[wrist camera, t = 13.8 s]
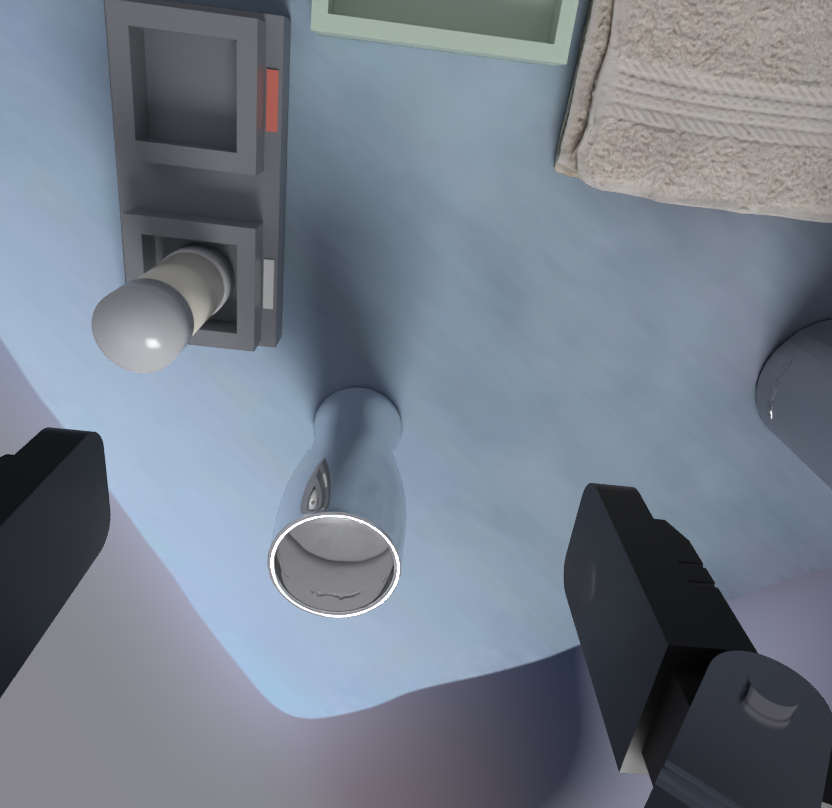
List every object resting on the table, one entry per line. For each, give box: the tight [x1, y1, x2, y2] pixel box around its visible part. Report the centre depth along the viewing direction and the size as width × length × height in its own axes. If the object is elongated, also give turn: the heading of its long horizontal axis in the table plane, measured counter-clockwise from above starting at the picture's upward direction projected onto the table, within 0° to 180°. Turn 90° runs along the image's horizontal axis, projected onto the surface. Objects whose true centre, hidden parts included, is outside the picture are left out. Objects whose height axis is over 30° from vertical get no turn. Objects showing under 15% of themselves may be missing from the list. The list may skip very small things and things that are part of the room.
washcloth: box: [554, 0, 832, 223], centre depth 35 cm, size 12×18×3 cm, turn 83°
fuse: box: [92, 243, 235, 373], centre depth 34 cm, size 4×4×10 cm
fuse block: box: [104, 0, 291, 351], centre depth 37 cm, size 9×18×4 cm, turn 173°
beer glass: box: [268, 387, 406, 618], centre depth 39 cm, size 7×7×15 cm
